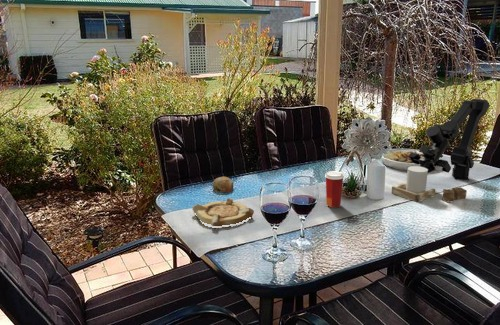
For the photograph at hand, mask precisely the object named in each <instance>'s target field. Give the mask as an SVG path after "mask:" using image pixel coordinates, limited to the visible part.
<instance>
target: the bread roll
mask: <svg viewBox="0 0 500 325" xmlns="http://www.w3.org/2000/svg"><path fill="white" fill-rule="evenodd" d="M212 189H213V191H214V192H215V193H224V192H226V193H231V192H232V191H233V189H234V181H233V180H232V179H231V178H229V177H227V176H220V177H217V178H215V179H214V180H213V182H212Z"/></svg>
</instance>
